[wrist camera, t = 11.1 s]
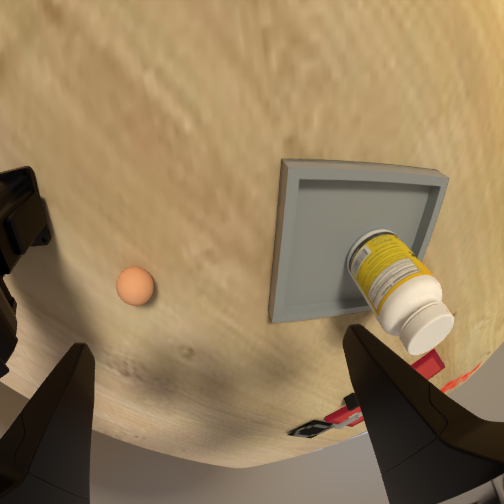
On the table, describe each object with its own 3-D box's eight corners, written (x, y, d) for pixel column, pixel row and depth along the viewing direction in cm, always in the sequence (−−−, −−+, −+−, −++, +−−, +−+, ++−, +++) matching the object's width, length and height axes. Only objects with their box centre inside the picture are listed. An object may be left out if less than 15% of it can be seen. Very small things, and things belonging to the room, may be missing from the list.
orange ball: (124, 288, 24) (118, 314, 21) (116, 260, 22) (108, 284, 20) (158, 287, 24) (155, 313, 22) (152, 257, 22) (147, 283, 20)
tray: (268, 309, 27) (272, 323, 26) (281, 158, 19) (288, 167, 18) (395, 293, 29) (402, 305, 28) (436, 169, 21) (449, 178, 20)
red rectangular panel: (279, 429, 47) (320, 436, 55) (282, 442, 45) (324, 446, 53) (427, 338, 38) (442, 361, 46) (436, 352, 36) (448, 372, 44)
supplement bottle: (400, 262, 26) (456, 338, 18) (350, 286, 27) (397, 372, 19) (395, 217, 23) (467, 295, 15) (339, 242, 23) (397, 335, 15)
